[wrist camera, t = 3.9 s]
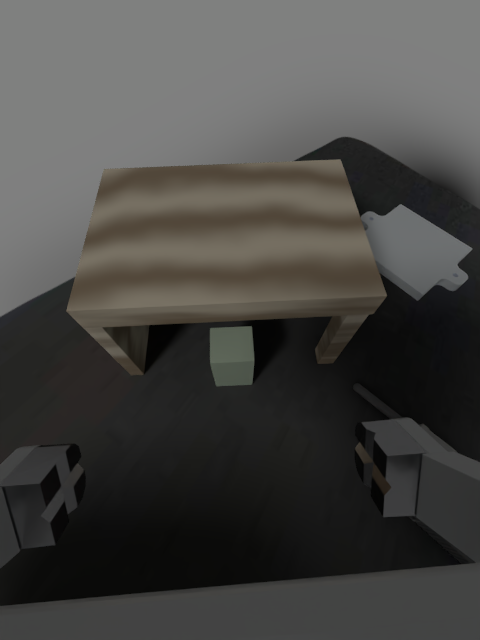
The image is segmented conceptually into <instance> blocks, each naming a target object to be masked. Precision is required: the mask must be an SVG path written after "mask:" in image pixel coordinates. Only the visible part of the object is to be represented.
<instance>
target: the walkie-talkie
mask: <svg viewBox="0 0 480 640" xmlns="http://www.w3.org/2000/svg"><path fill="white" fill-rule="evenodd" d="M353 390H354V391H356V392H357V393H358V394H359V395H361V396H362V397H363V398H364V399H366V400H367V401H368V402H369V403H371V404H372V405H373V406H375V407H376V408H377V409H378V410H380V411H381V412H382V413H383V414H385V415H386V416H387V417H388V418H390V419H397V418H403V417H401V416H400V415H399V414H398V413H396V412H395V411H394V410H393V409H391V408H390V407H389V406H387V405H386V404H385V403H384V402H382V401H381V400H380V399H378V398H377V397H376V396H375V395H373V394H372V393H371V392H369V391H368V390H367V389H366V388H364V387H363V386H362V385H360V384H359V383H355V384H354V385H353ZM419 426H420V427H421V428H422V429H424V430H425V431H426V432H427V433H428V434H429V435H430V436H431V437H432V438H433V439H434V440H436V441H437V442H438V443H439V444H440V445H441V446H442V447H443V448H444V449H445V450H446V451H448V452H453V451H454V452H456V453H457V451H456V450H455V449H453V448H452V447H451V446H449V445H448V444H447V443H445V442H444V441H443V440H442V439H440V438H439V437H438V436H436V435H435V434H434V433H432V432H431V431H430V430H429V428H428V427H427V426H425V425H424V424H420V425H419ZM408 517H409V518H410V519H411V520H412V521H413V522H416V523H417V525H418V526H420V527H421V528H422V530H424V531H426V532H427V534H428V535H430V536H432V539H433V540H436V541H437V543H438V544H440V545H442V546H443V547H442V548H444V549H446V550H447V551H448V553H449V554H452V555H453V557H454V558H455V559H457V560H458V561H459V563H461V564H471V563H476V562H475V561H473V560H472V559H471V558H469V557H468V556H467V555H465V554H464V553H463V552H462V551H460V550H459V549H458V548H456V547H455V546H454V545H452V544H451V543H450V542H448V541H447V540H446V539H444V538H443V537H442V536H440V535H439V534H438V533H436V532H435V531H434V530H432V529H431V528H430V527H428V526H427V525H426V524H425V523H423V522H422V521H421V520H419V519H418V518H417V517H416V515H415V516H408Z"/></svg>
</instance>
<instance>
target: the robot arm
mask: <svg viewBox="0 0 480 640" xmlns="http://www.w3.org/2000/svg"><path fill="white" fill-rule="evenodd" d="M355 436H356V437H357V439H358V440H359V444H358V445H357V446H356V448H355V463H356V468H357V471H358V474H359V476H360V478H361V480H362V482H363V483H364V484H365V485H367V486H368V487H370V488H371V497H372V499H373V501H374V502H375V504H376V506H377V508H378V509H379V511H380V513H381V514H382V516H383V517H397V516H415V515H416V517H417V518H418V519H419V520H421V521H422V522H423V523H425V524H426V525H427V526H428V527H430V528H431V529H432V530H434V531H435V532H436V533H438V534H439V535H440V536H442V537H443V538H444V539H446V540H447V541H448V542H450V543H451V544H452V545H454V546H455V547H456V548H458V549H459V550H460V551H462V552H463V553H464V554H465V555H467V556H468V557H469V558H471V559H472V560H473V561H475V562H476V563H471V564H460V565H449V566H437V567H426V568H415V569H404V570H393V571H382V572H371V573H360V574H349V575H337V576H326V577H315V578H304V579H293V580H282V581H270V582H259V583H248V584H237V585H226V586H214V587H203V588H192V589H181V590H169V591H158V592H147V593H136V594H125V595H115V596H104V597H93V598H82V599H71V600H60V601H50V602H39V603H28V604H17V605H6V606H0V640H480V462H478V461H476V460H473V459H471V458H468V457H466V456H464V455H461V454H459V453H456V452H454V451H453V452H448V451H446V450H445V449H444V448H443V447H442V446H441V445H440V444H439V443H438V442H437V441H436V440H434V439H433V438H432V437H431V436H430V435H429V434H428V433H427V432H426V431H425V430H424V429H422V428H421V427H420V426H419V425H418V424H417V423H416V422H415V421H414V420H413V419H411V418H408V417H406V418H397V419H391V420H380V421H370V422H359V423H357V425H356V429H355ZM80 458H81V453H80V449H79V446H78V445H76V444H57V445H41V446H26V447H21V448H17V449H16V450H15V451H14V452H13V453H12V454H11V455H10V456H9V457H8V458H7V459H6V460H5V461H3V462H2V463H1V464H0V568H1V567H3V566H4V565H5V564H6V563H7V562H8V561H9V560H11V559H12V558H13V557H14V556H15V555H16V554H17V553H18V552H20V549H26V548H34V547H43V546H51V545H56V543H57V541H58V540H59V538H60V536H61V535H62V533H63V531H64V529H65V528H66V526H67V524H68V523H69V518H68V514H69V513H70V512H71V511H73V510H74V509H75V508H77V507H78V505H79V503H80V501H81V500H82V498H83V494H84V490H85V487H86V476H85V471H84V469H83V468H82V467H81V466H80V465H79V464H77V463H78V461H79V460H80Z"/></svg>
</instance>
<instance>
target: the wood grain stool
mask: <svg viewBox="0 0 480 640" xmlns="http://www.w3.org/2000/svg"><path fill="white" fill-rule="evenodd" d="M386 297H387V294H386V291H385V288H384V285H383V282H382V279H381V276H380V274H379V271H378V268H377V265H376V262H375V259H374V256H373V253H372V250H371V247H370V244H369V241H368V238H367V235H366V232H365V230H364V227H363V224H362V221H361V218H360V215H359V212H358V209H357V206H356V203H355V200H354V197H353V194H352V191H351V188H350V186H349V183H348V180H347V177H346V174H345V171H344V168H343V165H342V162H341V160H316V161H292V162H270V163H269V162H268V163H244V164H220V165H219V164H218V165H194V166H171V167H146V168H121V169H104V171H103V175H102V179H101V182H100V186H99V190H98V193H97V197H96V201H95V205H94V209H93V212H92V216H91V220H90V224H89V228H88V231H87V235H86V239H85V243H84V246H83V250H82V255H81V258H80V262H79V266H78V269H77V273H76V277H75V280H74V284H73V288H72V292H71V296H70V299H69V303H68V307H67V312H68V313H69V314H70V315H71V316H72V317H73V318H74V319H75V320H76V321H77V322H78V323H79V324H80V325H81V326H82V327H83V328H84V329H85V330H86V331H87V332H88V333H89V334H90V335H91V336H92V337H93V338H94V339H95V340H96V341H97V342H98V343H99V344H100V345H101V346H102V347H103V348H104V349H105V350H106V351H107V352H108V353H109V354H110V355H111V356H112V357H113V358H115V359H116V360H117V361H118V362H119V363H120V364H121V365H122V366H123V367H124V368H125V369H126V370H127V371H128V372H129V373H130V374H131V375H143V374H144V370H145V361H146V351H147V342H148V333H149V325H161V324H181V323H202V322H222V321H243V320H263V319H284V318H304V317H325V316H332V318H331V320H330V322H329V324H328V326H327V328H326V330H325V332H324V333H323V335H322V337H321V339H320V341H319V343H318V345H317V347H316V349H315V353H316V358H317V364H329V363H334V361H335V360H336V359H337V357H338V356H339V355H340V353H341V352H342V350H343V349H344V348H345V346H346V345H347V344H348V342H349V341H350V340H351V338H352V337H353V335H354V334H355V333H356V331H357V330H358V329H359V327H360V326H361V325H362V323H363V322H364V320H365V319H366V318H367V316H368V315H369V314H374V312H375V311H376V310H377V308H378V307H379V306H380V305H381V303H382V302H383V301H384V299H385V298H386Z"/></svg>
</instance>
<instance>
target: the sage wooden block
mask: <svg viewBox="0 0 480 640" xmlns="http://www.w3.org/2000/svg"><path fill="white" fill-rule="evenodd" d="M210 365H211V368H212V372H213V376H214V380H215V383H216V386H231V385H250V384H252V383H253V372H254V348H253V335H252V326H245V327H224V328H210Z"/></svg>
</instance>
